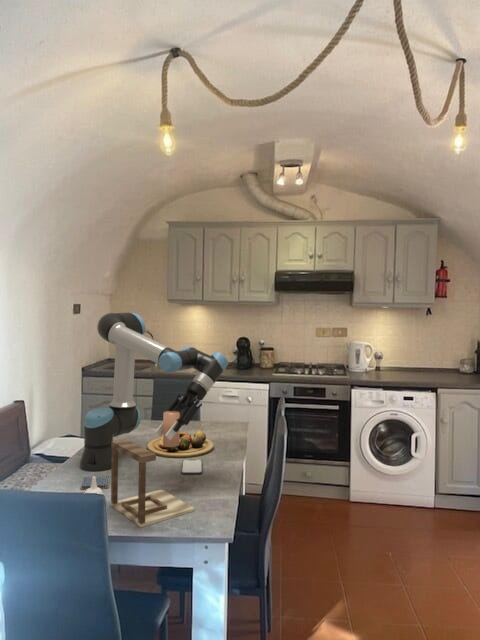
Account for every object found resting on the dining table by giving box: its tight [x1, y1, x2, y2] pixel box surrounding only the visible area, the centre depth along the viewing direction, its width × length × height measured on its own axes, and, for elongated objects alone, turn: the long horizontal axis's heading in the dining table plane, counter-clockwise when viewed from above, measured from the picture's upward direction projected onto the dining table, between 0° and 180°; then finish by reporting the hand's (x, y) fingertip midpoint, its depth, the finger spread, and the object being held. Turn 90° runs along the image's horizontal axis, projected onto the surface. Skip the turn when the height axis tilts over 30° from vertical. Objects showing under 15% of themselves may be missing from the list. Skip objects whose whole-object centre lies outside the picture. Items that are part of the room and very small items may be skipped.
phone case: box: [180, 459, 204, 476], centre depth 209 cm, size 9×2×16 cm
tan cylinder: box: [162, 410, 181, 447], centre depth 183 cm, size 6×6×12 cm
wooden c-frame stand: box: [110, 438, 195, 528], centre depth 167 cm, size 21×20×22 cm
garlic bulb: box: [84, 475, 104, 495], centre depth 174 cm, size 6×6×8 cm
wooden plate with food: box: [146, 429, 215, 459], centre depth 237 cm, size 32×32×8 cm
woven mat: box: [79, 475, 111, 491], centre depth 188 cm, size 10×11×2 cm
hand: (163, 435), depth 181 cm, fingers closed on tan cylinder, 6 cm apart
